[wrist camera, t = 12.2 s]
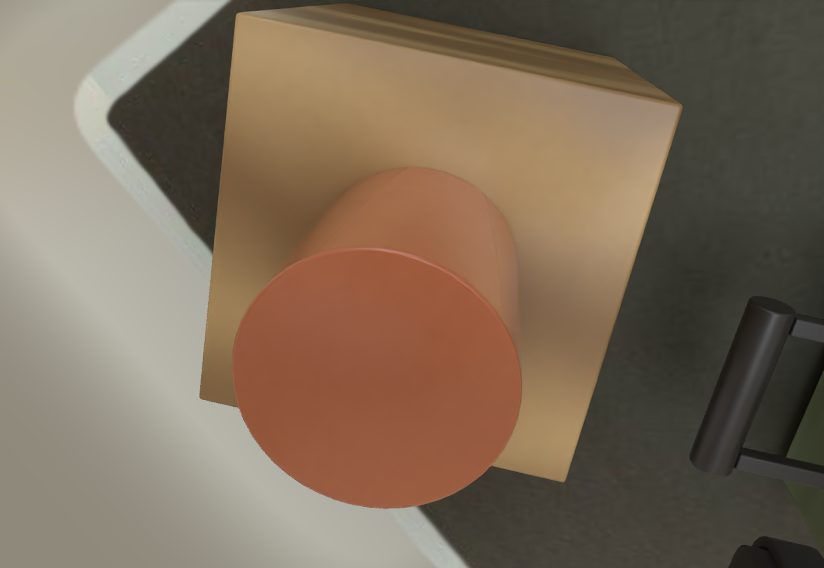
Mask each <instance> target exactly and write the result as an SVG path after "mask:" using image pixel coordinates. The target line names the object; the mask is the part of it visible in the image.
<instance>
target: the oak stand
mask: <svg viewBox="0 0 824 568" xmlns="http://www.w3.org/2000/svg"><path fill="white" fill-rule="evenodd" d="M682 109H683V108H682V105H681V104H680V103H678V102H677V101H676V100H674V99H673V98H671V97H670V96H668V95H667V94H665V93H664V92H662V91H661V90H660V89H658V88H657V87H655V86H654V85H652V84H651V83H649V82H648V81H646V80H645V79H644V78H642V77H641V76H639V75H638V74H636V73H635V72H633V71H632V70H630V69H629V68H628V67H626V66H625V65H623V64H622V63H620V62H619V61H617V60H616V59H614V58H613V57H608V56H603V55H598V54H593V53H588V52H583V51H578V50H573V49H569V48H564V47H559V46H554V45H549V44H544V43H539V42H534V41H530V40H525V39H520V38H515V37H510V36H505V35H500V34H495V33H490V32H486V31H481V30H476V29H471V28H466V27H461V26H456V25H451V24H447V23H442V22H437V21H432V20H427V19H422V18H417V17H412V16H407V15H403V14H398V13H393V12H388V11H383V10H378V9H373V8H368V7H363V6H359V5H354V4H349V3H340V4H329V5H318V6H307V7H296V8H285V9H274V10H263V11H252V12H241V13H237V15H236V21H235V31H234V42H233V52H232V62H231V73H230V83H229V94H228V104H227V115H226V125H225V135H224V146H223V156H222V167H221V177H220V187H219V198H218V208H217V219H216V229H215V240H214V250H213V260H212V271H211V281H210V292H209V302H208V313H207V324H206V334H205V344H204V355H203V365H202V375H201V385H200V398H201V399H203V400H207V401H211V402H216V403H220V404H225V405H229V406H233V407H238V404H237V400H236V396H235V392H234V387H233V378H232V353H233V347H234V342H235V337H236V334H237V331H238V328H239V325H240V322H241V320H242V318H243V316H244V314H245V312H246V310H247V308H248V307H249V305H250V304H251V302H252V301H253V300H254V298H255V297H256V295H257V294H258V293H259V291H260V290H261V289H262V288H263V287H264V285H265V284H266V283H267V282H268V281H269V279H270V278H271V277H272V276H273V275H274V273H275V272H276V271H277V270H278V269H279V267H280V266H281V265H282V264H283V263H284V261H285V260H286V259H287V258H288V257H289V255H290V254H291V253H292V252H293V250H294V249H295V248H296V247H297V246H298V244H299V243H300V242H301V241H302V240H303V238H304V237H305V236H306V235H307V234H308V232H309V231H310V230H311V229H312V228H313V226H314V225H315V224H316V223H317V222H318V220H319V219H320V218H321V217H322V216H323V214H324V213H325V212H326V211H327V210H328V208H329V207H330V206H331V205H332V204H333V202H334V201H335V200H336V199H337V198H338V197H339V196H340V195H341V194H342V193H343V192H344V191H345V190H347V189H348V188H349V187H351V186H352V185H353V184H355V183H357V182H358V181H360V180H362V179H364V178H365V177H368V176H370V175H373V174H375V173H378V172H381V171H385V170H389V169H393V168H402V167H422V168H429V169H435V170H438V171H442V172H446V173H449V174H451V175H453V176H456V177H458V178H461V179H462V180H464V181H466V182H468V183H469V184H471V185H473V186H474V187H475V188H477V189H478V190H479V191H481V192H482V193H483V194H484V195H485V196H486V197H487V198H488V199H489V200H490V201H491V202H492V203H493V204H494V205H495V206H496V207H497V209H498V210H499V211H500V213H501V214H502V215H503V217H504V219H505V220H506V222H507V224H508V226H509V228H510V230H511V233H512V235H513V238H514V240H515V244H516V248H517V252H518V261H519V285H520V324H521V363H522V396H521V405H520V410H519V415H518V419H517V422H516V425H515V428H514V430H513V433H512V435H511V437H510V439H509V441H508V443H507V445H506V447H505V448H504V450H503V451H502V453H501V454H500V455H499V457H498V458H497V459H496V461H495V462H494V463H493V464H492V465H491V466H495V467H499V468H503V469H508V470H512V471H516V472H521V473H525V474H529V475H534V476H538V477H542V478H547V479H551V480H556V481H560V482H564V481H565V480H566V477H567V474H568V471H569V467H570V464H571V461H572V458H573V455H574V452H575V448H576V445H577V442H578V439H579V436H580V433H581V429H582V426H583V423H584V420H585V417H586V413H587V410H588V407H589V404H590V401H591V398H592V394H593V391H594V388H595V385H596V382H597V379H598V375H599V372H600V369H601V366H602V363H603V360H604V356H605V353H606V350H607V347H608V344H609V340H610V337H611V334H612V331H613V328H614V325H615V321H616V318H617V315H618V312H619V309H620V306H621V302H622V299H623V296H624V293H625V290H626V287H627V283H628V280H629V277H630V274H631V271H632V267H633V264H634V261H635V258H636V255H637V252H638V248H639V245H640V242H641V239H642V236H643V233H644V229H645V226H646V223H647V220H648V217H649V214H650V210H651V207H652V204H653V201H654V198H655V194H656V191H657V188H658V185H659V182H660V179H661V175H662V172H663V169H664V166H665V163H666V160H667V156H668V153H669V150H670V147H671V144H672V141H673V137H674V134H675V131H676V128H677V125H678V121H679V118H680V115H681V112H682ZM238 408H239V407H238Z"/></svg>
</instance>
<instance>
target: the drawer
mask: <svg viewBox="0 0 824 568" xmlns="http://www.w3.org/2000/svg"><path fill="white" fill-rule="evenodd" d="M788 334H789V335H790V336H792V337H797V338H802V339H806V340H811V341H815V342H820V343H824V320H823V319H819V318H814V317H809V316H805V315H800V314H796V311H795V310H794V309H793V308H791V307H790V306H788V305H787V304H785V303H783V302H780V301H778V300H775V299H772V298H768V297H762V296H753V297H751V298H750V299H749V300H748V303H747V306H746V308H745V311H744V314H743V316H742V319H741V321H740V324H739V327H738V329H737V332H736V334H735V337H734V340H733V342H732V345H731V348H730V350H729V353H728V355H727V358H726V361H725V363H724V366H723V368H722V371H721V374H720V376H719V379H718V382H717V384H716V387H715V389H714V392H713V395H712V397H711V400H710V403H709V405H708V408H707V410H706V413H705V416H704V418H703V421H702V423H701V426H700V429H699V431H698V434H697V437H696V439H695V442H694V444H693V447H692V450H691V452H690V461H691V462H692V464H693V465H694V466H695V467H696V468H698V469H699V470H701V471H703V472H705V473H707V474H709V475H712V476H717V477H726V476H728V475H730V474H731V472H732V470H733V468H734V467H735V469H737V470H741V471H745V472H750V473H754V474H758V475H763V476H767V477H772V478H776V479H780V480H783V481H784V483H785V484H786V486H787V488H788V490H789V492H790V493H791V495H792V497H793V499H794V501H795V503H796V504H797V506H798V508H799V510H800V512H801V513H802V515H803V517H804V519H805V521H806V522H807V524H808V526H809V528H810V530H811V532H812V533H813V535H814V537H815V539H816V541H817V542H818V544H819V546H820V548H821V550H822V552H823V553H824V371H823V373H822V375H821V378H820V380H819V382H818V384H817V387H816V389H815V391H814V394H813V396H812V398H811V400H810V403H809V405H808V407H807V410H806V412H805V414H804V416H803V419H802V421H801V423H800V426H799V428H798V430H797V432H796V435H795V437H794V439H793V442H792V444H791V446H790V448H789V451H788V453H787V455H786V457H782V456H778V455H774V454H769V453H765V452H760V451H756V450H751V449H747V448H743V447H742V446H743V443H744V441H745V438H746V436H747V433H748V431H749V429H750V426H751V424H752V421H753V419H754V416H755V414H756V412H757V409H758V407H759V404H760V402H761V399H762V397H763V394H764V392H765V390H766V387H767V385H768V382H769V380H770V377H771V375H772V373H773V370H774V368H775V365H776V363H777V360H778V358H779V355H780V353H781V351H782V348H783V346H784V343H785V341H786V338H787V336H788Z"/></svg>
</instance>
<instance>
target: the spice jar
mask: <svg viewBox="0 0 824 568" xmlns="http://www.w3.org/2000/svg"><path fill="white" fill-rule="evenodd" d="M232 378H233V387H234V392H235V396H236V400H237V404H238V407H239V409H240V412H241V414H242V417H243V420H244V422H245V423H246V425H247V427H248V429H249V431H250V433H251V434H252V436H253V437H254V439H255V440H256V442H257V443H258V444H259V446H260V447H261V449H262V450H263V451H264V452H265V453H266V454H267V455H268V456H269V457H270V458H271V460H272V461H273V462H274V463H275V464H276V465H278V466H279V467H280V468H281V469H282V470H283V471H284V472H286V473H287V474H288V475H289V476H291V477H292V478H294V479H295V480H297V481H298V482H299V483H301V484H302V485H304V486H306V487H308V488H310V489H312V490H314V491H315V492H317V493H320V494H322V495H325V496H327V497H330V498H332V499H335V500H338V501H341V502H345V503H348V504H352V505H358V506H363V507H370V508H385V509H389V508H406V507H412V506H419V505H423V504H427V503H430V502H434V501H437V500H440V499H442V498H445V497H447V496H449V495H452V494H454V493H456V492H457V491H459V490H461V489H463V488H464V487H466V486H468V485H469V484H471V483H472V482H473V481H474V480H476V479H477V478H478V477H480V476H481V475H482V474H483V473H484V472H485V471H486V470H487V469H488V468H489V467H490V466H491V465H492V464H493V463H494V462H495V461H496V459H497V458H498V457H499V455H500V454H501V453H502V451H503V450H504V448H505V447H506V445H507V443H508V441H509V439H510V437H511V435H512V433H513V430H514V428H515V425H516V422H517V419H518V415H519V410H520V405H521V396H522V363H521V324H520V285H519V261H518V252H517V248H516V244H515V240H514V238H513V235H512V233H511V230H510V228H509V226H508V224H507V222H506V220H505V219H504V217H503V215H502V214H501V213H500V211H499V210H498V209H497V207H496V206H495V205H494V204H493V203H492V202H491V201H490V200H489V199H488V198H487V197H486V196H485V195H484V194H483V193H482V192H481V191H479V190H478V189H477V188H475V187H474V186H473V185H471V184H469V183H468V182H466V181H464V180H462V179H461V178H458V177H456V176H453V175H451V174H449V173H446V172H442V171H438V170H435V169H429V168H422V167H402V168H393V169H389V170H385V171H381V172H378V173H375V174H373V175H370V176H368V177H365V178H364V179H362V180H360V181H358V182H357V183H355V184H353V185H352V186H351V187H349V188H348V189H347V190H345V191H344V192H343V193H342V194H341V195H340V196H339V197H338V198H337V199H336V200H335V201H334V202H333V204H332V205H331V206H330V207H329V208H328V210H327V211H326V212H325V213H324V214H323V216H322V217H321V218H320V219H319V220H318V222H317V223H316V224H315V225H314V226H313V228H312V229H311V230H310V231H309V232H308V234H307V235H306V236H305V237H304V238H303V240H302V241H301V242H300V243H299V244H298V246H297V247H296V248H295V249H294V250H293V252H292V253H291V254H290V255H289V257H288V258H287V259H286V260H285V261H284V263H283V264H282V265H281V266H280V267H279V269H278V270H277V271H276V272H275V273H274V275H273V276H272V277H271V278H270V279H269V281H268V282H267V283H266V284H265V285H264V287H263V288H262V289H261V290H260V291H259V293H258V294H257V295H256V297H255V298H254V300H253V301H252V302H251V304H250V305H249V307H248V308H247V310H246V312H245V314H244V316H243V318H242V320H241V322H240V325H239V328H238V331H237V334H236V337H235V342H234V347H233V353H232Z"/></svg>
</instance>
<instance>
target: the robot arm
mask: <svg viewBox="0 0 824 568" xmlns="http://www.w3.org/2000/svg"><path fill="white" fill-rule="evenodd" d="M729 568H824V559H823V557H822V556H821V554H820V553H819V552H818V550H816V549H814V548H812V547H809V546H805V545H801V544H796V543H792V542H788V541H783V540H779V539H775V538H770V537H766V536H763V537H759V538H758V539H757V540H756V541H755V542H754V543H753V545H752V546H748V545H741V546H740V547H739V548H738V549H737V551H736V552H735V554H734V556H733V559H732V561H731V563H730V565H729Z"/></svg>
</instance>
